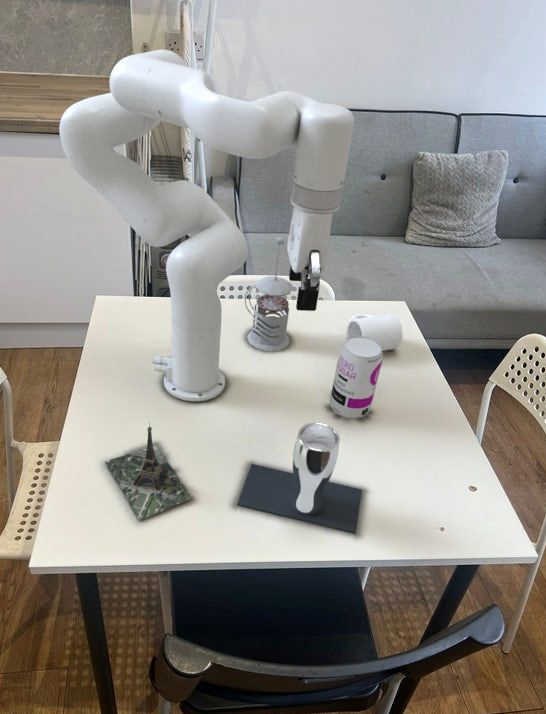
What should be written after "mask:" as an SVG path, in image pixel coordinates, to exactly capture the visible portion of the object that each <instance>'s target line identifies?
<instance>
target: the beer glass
mask: <svg viewBox="0 0 546 714" xmlns="http://www.w3.org/2000/svg"><path fill="white" fill-rule="evenodd" d="M340 442H341V437H340V434H339V432H338V431H337V430H336V429H335V428H334V427H333V426H330V425H328V424H326V423H322V422H309V423H306V424H304V425H302V426H301V427H300V428H299V429H298V432H297V437H296V439H295V442H294V447H293V453H292V473H293V487H292V490H291V492H290V494H289V497H288V501H289V505H290V506H291V508H292V509H293V510H294V511H296V512H298V513H300V514H303V515H314V514H317V513H318V512H320V511H321V510H322V508H323V506H324V491H325V488H326V486H327V484H328V482H330V479H331V478H332V475H333V473H334V471H335V468H336V465H337V462H338V456H339V449H340Z"/></svg>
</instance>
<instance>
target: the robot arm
mask: <svg viewBox="0 0 546 714" xmlns="http://www.w3.org/2000/svg"><path fill="white" fill-rule="evenodd" d="M215 87H216V86H215V83H214V80H213V78H212V76H211V75H210V74H209V73H207V71H205V70H203V69H199V68H194V67H191V66H188V65H187V63H186V61H185V60H184V59H183V58H182V57H181V56H180V55H179V54H178V53H176V52H174V51H171V50H169V49H155V50H150V51H146V52H140V53H136V54H130V55H128V56H126V57H123V58H121V59H120V60H119V61H118V62H117V63H116V64H115V65H114V67H113V68H112V70H111V72H110V75H109V90H110V92H107V93H103V94H99V95H95V96H91V97H87V98H84V99H82V100H80V101H77V102H75V103H73V104H72V105H70V106H69V107H68V108H67V109H65V111H64V112H63V114H62V116H61V118H60V120H59V128H58V129H59V138H60V143H61V147H62V150H63V152H64V154H65V157H66V158H67V160H68V162H69V164H70V165H71V166H72V168H73V169H74V170H75V171H76V173H78V175H79V176H80V177H81V178H82V179H83V180H85V181H86V182H87V183H88V184H89V185H90V186H91V187H92V188H94V189H95V190H96V191H97V192H98V193H99V194H100V195H102V197H103V198H105V199H106V201H107V202H108V203H109V204H110V206H111V207H112V208H113V209H114V210H115V211H116V212H117V213H118V214H119V216H121V217H122V218H123V220H124V221H125V222H126V223H127V224H128V225H129V226H130V227H131V228H132V229H133V231H134V232H135V233H136V234H137V235H138V236H139V237H140V238H141V239H142V240H143V241H144V242H145V243H146V244H148V245H149V246H151V247H154V248H162V247H166V246H168V245H170V244H172V243H174V242H175V241H178V240H179V239H181V238H183V237H185V236H188V238H187V239H186V240H183V241H182V242H181V243H179V244H178V245H177V246H175V247H174V248H173V250H172V251H171V252H170V254H169V255H168V257H167V260H166V264H165V271H166V272H165V273H166V277H167V281H168V286H169V294H170V307H171V308H170V310H171V312H170V315H171V316H170V317H171V319H170V320H171V356H169V357H166V356H163V355H162V356H161V355H158V354H154V355H153V357H152V364H153V365H154V366H153V370H154V371H155V372H160V373H161V372H162V373H164V375H163V386H164V388H165V390H166V391H167V392H168V393H169V394H170V395H171V396H172V397H174V398H177V399H180V400H183V401H186V402H187V401H188V402H203V401H208V400H212V399H213V398H216V397H218V396H220V395H221V393H222V392H223V391H224V389H225V386H226V377H225V374H224V373H223V372H222V370H221V369H219V365H220V351H221V350H220V349H221V331H222V315H223V313H222V311H223V310H222V302H221V300H220V297H219V294H218V290H217V289H218V286H219V285H220V284H221V283H222V282H224V281H225V280H226V279H227V278H228V277H230V276H231V275H233V274H234V273H235V272H237V271H238V270H240V269H241V268H242V267H243V266H244V264H245V263H246V261H247V260H248V256H249V246H248V242H247V239H246V237H245V236H244V234H243V232H242V231H241V230H240V228H239V227H238V226H237V224H236V223H235V222H234V221H233V220H232V219H231V218H230V217H229V215H227V214H226V213H225V211H224V210H223V209H222V208H221V207H220V206H219V205H218V204H217V202H216V200H214V199H213V198H212V197H211V196H210V195H209V194H208V192H207V191H205V190H204V188H202V187H201V186H200V185H198V184H196V183H194V182H192V181H189V180H183V179H179V180H174V181H172V182H169V183H167V184H165V185H160V184H158V183H157V182H156V181H154V179H153V178H151V176H150V175H149V174H148V173H147V172H146V171H145V169H144V168H143V167H142V166H140V164H138V163H137V162H135V160H133V159H131V158H129V157H128V156H125V155H123V154H121V153H119V152H117V151H116V150H115V148H116V147H119V146H122V145H124V144H127V143H130V142H133V141H136V140H138V139H141V138H142V137H144V136H146V135H147V134H148V133H150V132H151V131H152V130H153V129H155V127H156V126H157V125H159V124H160V123H162V122H164V123H169V124H172V125H174V126H177V127H181V128H185V129H188V130H190V131H191V133H192V134H193V135H194V136H195V138H197V139H198V140H200V142H201V143H203V144H204V145H206V146H207V147H209V148H212V149H214V150H216V151H219V152H223V153H225V154H229V155H233V156H237V157H240V158H244V159H252V160H263V159H267V158H270V157H272V156H273V155H276V154H277V153H280V152H281V151H283V150H287V149H291V148H296V155H295V162H294V170H293V180H292V188H291V195H290V204H291V205H292V206H293V209H292V214H291V221H290V226H289V231H288V232H289V233H288V237H287V238H288V239H287V246H286V250H287V255H288V259H289V263H290V267H289V275H288V280H289V282H300V286H298V289H297V297H296V305H295V309H296V311H304V312H315V311H317V306H318V299H319V294H320V286H321V285H320V284H321V280H320V279H321V274H323V272H324V271H325V268H326V263H327V257H328V251H329V244H330V237H331V231H332V221H333V220H332V219H333V213H336V212H338V211H339V209H340V208H341V202H342V197H343V190H344V184H345V179H346V173H347V167H348V161H349V157H350V150H351V144H352V139H353V133H354V125H355V117H354V114H353V113H352V111H351V110H350V109H348V108H347V107H344V106H342V105H338V104H333V103H326V102H324V103H323V102H320V101H317V100H315V99H312V98H310V97H308V96H306V95H304V94H301V93H299V92H297V91H292V90H284V91H283V90H282V91H279V92H276V93H274V94H270V95H266V96H263V97H260V98H258V99H256V100H253V101H248V100H242V99H238V98H234V97H231V96H226V95H222V94H220V93H217V92H216V88H215Z"/></svg>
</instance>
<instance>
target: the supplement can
mask: <svg viewBox="0 0 546 714" xmlns="http://www.w3.org/2000/svg"><path fill="white" fill-rule="evenodd" d="M383 360H384V353H383V351H382V349H381V346H380V344H379V343H378V342H376V341H375V340H373V339H371V338H368V337H363V336H355V337H350V338H349V339H347V338H346V340H345V342H344V343H343V344H342V345H341V347H340V349H339V353H338V358H337V363H336V368H335V373H334V379H333V383H332V388H331V393H330V398H329V405H330V407H331V409H332V410H333V411H334V413H336V414H337V415H338V416H341V417H343V418H346V419H353V420H354V419H360V418H362V417H365V416H366V415H368V414H369V413H370V410H371V408H372V404H373V399H374V395H375V392H376V388H377V384H378V380H379V376H380V372H381V370H382V369H381V368H382V364H383Z"/></svg>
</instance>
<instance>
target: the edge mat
mask: <svg viewBox="0 0 546 714" xmlns="http://www.w3.org/2000/svg"><path fill="white" fill-rule="evenodd" d="M246 475H247V476H246V478H245V481H244V484H243V486H242V489H241V492H240V495H239V498H238V501H237V505H236V506H238V507H242V508H247V509H250V510H254V511H259V512H263V513H268V514H270V515H271V514H272V515H276V516H280V517H283V518H287V519H291V520H292V519H293V520H297V521H301V522H305V523H308V524H312V525H316V526H321V527H324V528H330V529H333V530H338V531H342V532H345V533H350V534H354V535H356V534H357V533H356V532H357V527H358V520H359V514H360V508H361V501H362V495H363V494H362V493H363V489H362V488H357V487H353V486H349V485H344V484H340V483H336V482H331V481H329V482H328V484H327V486H326V488H325V491H324V506H323V508H322V510H321V511H320V512H318V513H317V514H314V515H303V514H300V513H298V512H296V511H294V510H293V509H292V508H291V506H290V505H289V501H288V497H289V494H290V492H291V490H292V487H293V472H289V471H284V470H280V469H277V468H272V467H269V466H268V467H267V466H264V465H259V464H254V463H251V464H250V467H249V470H248V472H247V474H246Z"/></svg>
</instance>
